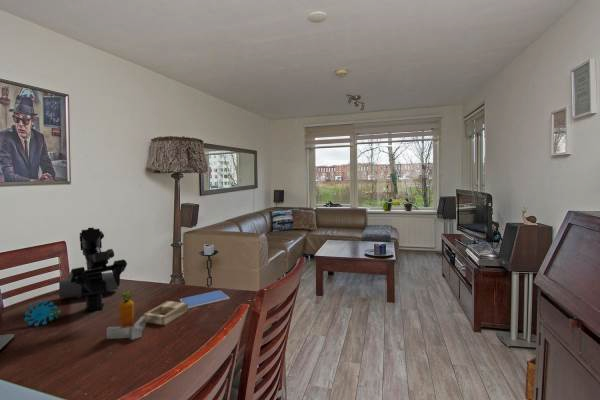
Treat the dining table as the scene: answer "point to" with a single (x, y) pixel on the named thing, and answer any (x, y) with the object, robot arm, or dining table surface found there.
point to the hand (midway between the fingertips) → (105, 288)
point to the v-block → (127, 330)
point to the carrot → (126, 310)
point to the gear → (42, 313)
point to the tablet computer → (204, 299)
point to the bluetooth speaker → (75, 289)
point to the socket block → (166, 312)
